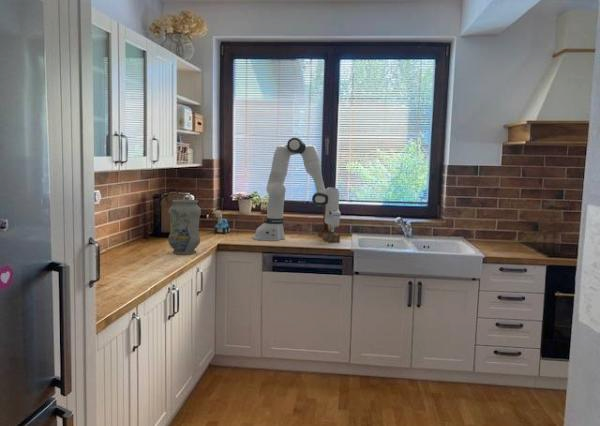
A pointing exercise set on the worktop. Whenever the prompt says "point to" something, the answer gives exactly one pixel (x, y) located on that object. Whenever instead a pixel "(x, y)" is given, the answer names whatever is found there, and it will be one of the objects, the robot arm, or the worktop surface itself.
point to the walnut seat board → (331, 237)
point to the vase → (184, 226)
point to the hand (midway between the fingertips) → (331, 231)
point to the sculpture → (326, 229)
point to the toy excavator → (221, 224)
